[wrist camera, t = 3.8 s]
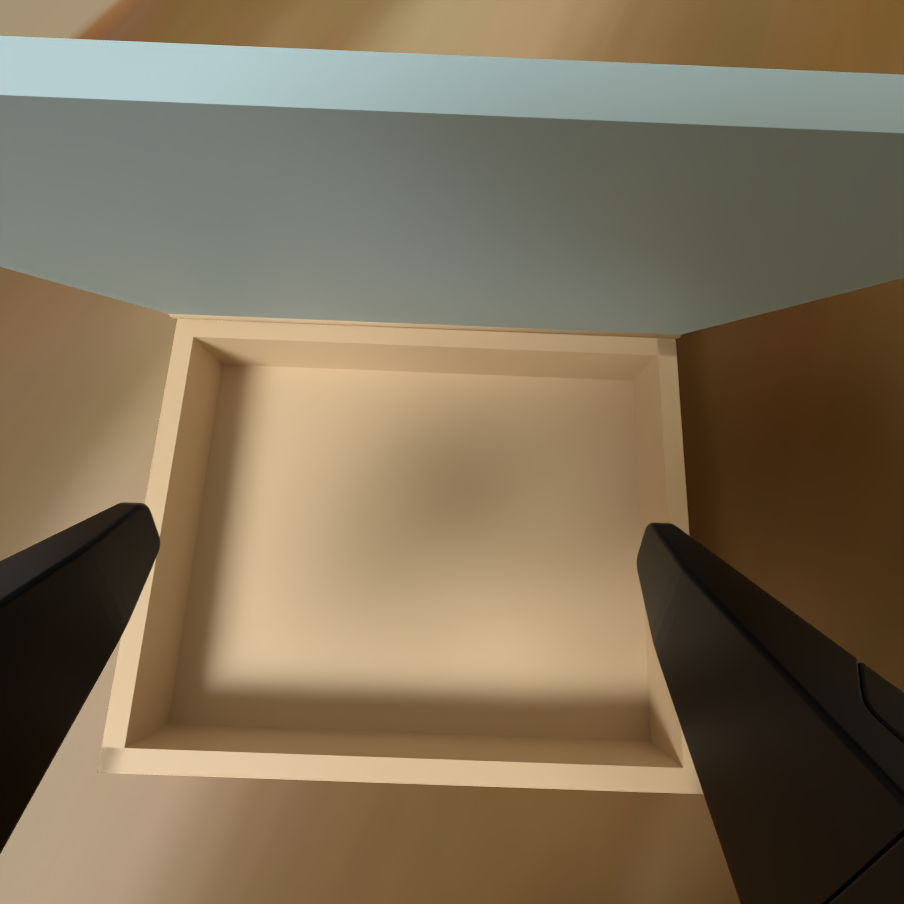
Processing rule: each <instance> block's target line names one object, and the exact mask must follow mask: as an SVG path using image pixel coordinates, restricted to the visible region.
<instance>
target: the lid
mask: <svg viewBox="0 0 904 904" xmlns="http://www.w3.org/2000/svg"><path fill="white" fill-rule="evenodd" d="M0 267H3V268H6V269H10V270H13V271H17V272H20V273H24V274H28V275H31V276H35V277H38V278H42V279H46V280H49V281H53V282H56V283H60V284H63V285H67V286H71V287H74V288H78V289H81V290H85V291H89V292H92V293H96V294H99V295H103V296H106V297H110V298H114V299H117V300H121V301H124V302H128V303H131V304H135V305H139V306H142V307H146V308H149V309H153V310H157V311H160V312H164V313H167V314H169V316H170V317H171V318H177V319H202V320H226V321H251V322H276V323H301V324H326V325H351V326H376V327H401V328H425V329H450V330H475V331H500V332H525V333H550V334H575V335H600V336H624V337H649V338H674V339H678V338H680V337H681V335H682V334H686V333H690V332H693V331H697V330H701V329H705V328H709V327H713V326H717V325H721V324H725V323H729V322H733V321H737V320H741V319H745V318H749V317H753V316H757V315H760V314H764V313H768V312H772V311H776V310H780V309H784V308H788V307H792V306H796V305H800V304H804V303H808V302H812V301H816V300H820V299H823V298H827V297H831V296H835V295H839V294H843V293H847V292H851V291H855V290H859V289H863V288H867V287H871V286H875V285H879V284H883V283H887V282H890V281H894V280H898V279H902V278H904V75H899V74H876V73H852V72H829V71H806V70H783V69H759V68H736V67H713V66H690V65H666V64H643V63H620V62H597V61H573V60H550V59H527V58H503V57H480V56H457V55H434V54H410V53H387V52H364V51H341V50H317V49H294V48H271V47H248V46H224V45H201V44H178V43H155V42H131V41H108V40H85V39H62V38H38V37H36V38H35V37H15V36H0Z"/></svg>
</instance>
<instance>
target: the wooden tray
mask: <svg viewBox="0 0 904 904" xmlns="http://www.w3.org/2000/svg"><path fill="white" fill-rule="evenodd" d="M145 504H146V505H147V506H148V507H149V509H150V511H151V514H152V516H153V519H154V522H155V525H156V528H157V531H158V534H159V536H160V549H159V552H158V555H157V557H156V560H155V562H154V564H153V567H152V569H151V571H150V574H149V576H148V578H147V581H146V583H145V585H144V588H143V590H142V593H141V595H140V597H139V600H138V602H137V604H136V607H135V609H134V611H133V614H132V616H131V618H130V620H129V622H128V624H127V627H126V628H125V630H124V632H123V634H122V636H121V640H120V646H119V652H118V657H117V663H116V669H115V674H114V680H113V686H112V691H111V697H110V703H109V708H108V714H107V719H106V725H105V731H104V736H103V742H102V748H101V753H100V759H99V765H98V770H97V773H121V774H150V775H178V776H206V777H234V778H262V779H290V780H318V781H347V782H375V783H403V784H431V785H459V786H487V787H515V788H544V789H572V790H600V791H628V792H656V793H684V794H703V791H702V788H701V785H700V782H699V779H698V776H697V773H696V770H695V767H694V764H693V761H692V758H691V755H690V752H689V749H688V746H687V743H686V740H685V738H684V735H683V732H682V729H681V726H680V723H679V720H678V717H677V714H676V711H675V708H674V705H673V702H672V699H671V696H670V693H669V690H668V687H667V684H666V681H665V678H664V675H663V673H662V670H661V667H660V664H659V661H658V658H657V654H656V651H655V648H654V644H653V640H652V636H651V632H650V627H649V623H648V618H647V613H646V609H645V604H644V599H643V595H642V590H641V585H640V581H639V576H638V571H637V555H638V552H639V548H640V545H641V542H642V538H643V535H644V532H645V529H646V527H647V525H648V524H650V523H652V522H656V523H672V524H674V525H675V526H677V527H678V528H680V529H681V530H682V531H684V532H685V533H686V534H688V535H689V522H688V508H687V493H686V479H685V465H684V451H683V437H682V423H681V409H680V394H679V380H678V366H677V352H676V339H668V338H643V337H618V336H593V335H568V334H544V333H519V332H494V331H469V330H444V329H419V328H394V327H369V326H345V325H320V324H295V323H270V322H245V321H220V320H195V319H177V324H176V330H175V336H174V341H173V347H172V353H171V358H170V364H169V370H168V375H167V381H166V387H165V392H164V398H163V403H162V409H161V415H160V420H159V426H158V432H157V437H156V443H155V449H154V454H153V460H152V466H151V471H150V477H149V482H148V488H147V494H146V499H145Z"/></svg>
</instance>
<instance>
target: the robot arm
mask: <svg viewBox="0 0 904 904" xmlns="http://www.w3.org/2000/svg"><path fill="white" fill-rule="evenodd" d="M159 549H160V536H159V534H158V531H157V528H156V525H155V522H154V519H153V516H152V514H151V511H150V509H149V507H148V506H147V505H146V504H143V503H119V504H117V505H115V506H113V507H111V508H109V509H107V510H105V511H102V512H100V513H98V514H96V515H94V516H92V517H90V518H88V519H86V520H84V521H82V522H80V523H78V524H76V525H74V526H72V527H70V528H68V529H66V530H64V531H61V532H59V533H57V534H55V535H53V536H51V537H49V538H47V539H45V540H43V541H41V542H39V543H37V544H35V545H33V546H31V547H29V548H27V549H25V550H23V551H20V552H18V553H16V554H14V555H12V556H10V557H8V558H6V559H4V560H2V561H0V854H1V852H2V850H3V848H4V846H5V845H6V843H7V841H8V839H9V837H10V836H11V834H12V832H13V830H14V828H15V827H16V825H17V823H18V821H19V819H20V818H21V816H22V814H23V812H24V810H25V809H26V807H27V805H28V803H29V801H30V800H31V798H32V796H33V794H34V793H35V791H36V789H37V787H38V785H39V784H40V782H41V780H42V778H43V776H44V775H45V773H46V771H47V769H48V767H49V766H50V764H51V762H52V760H53V758H54V757H55V755H56V753H57V751H58V749H59V748H60V746H61V744H62V742H63V740H64V739H65V737H66V735H67V733H68V731H69V730H70V728H71V726H72V724H73V722H74V721H75V719H76V717H77V715H78V714H79V712H80V710H81V708H82V706H83V705H84V703H85V701H86V699H87V697H88V696H89V694H90V692H91V690H92V688H93V687H94V685H95V683H96V681H97V679H98V678H99V676H100V674H101V672H102V670H103V669H104V667H105V665H106V663H107V661H108V660H109V658H110V656H111V654H112V652H113V651H114V649H115V647H116V645H117V643H118V642H119V640H120V638H121V636H122V634H123V632H124V630H125V628H126V627H127V624H128V622H129V620H130V618H131V616H132V614H133V611H134V609H135V607H136V604H137V602H138V600H139V597H140V595H141V593H142V590H143V588H144V585H145V583H146V581H147V578H148V576H149V574H150V571H151V569H152V567H153V564H154V562H155V560H156V557H157V555H158V552H159ZM637 571H638V576H639V581H640V585H641V590H642V595H643V599H644V604H645V609H646V613H647V618H648V623H649V627H650V632H651V636H652V640H653V644H654V648H655V651H656V654H657V658H658V661H659V664H660V667H661V670H662V673H663V675H664V678H665V681H666V684H667V687H668V690H669V693H670V696H671V699H672V702H673V705H674V708H675V711H676V714H677V717H678V720H679V723H680V726H681V729H682V732H683V735H684V738H685V740H686V743H687V746H688V749H689V752H690V755H691V758H692V761H693V764H694V767H695V770H696V773H697V776H698V779H699V782H700V785H701V788H702V791H703V794H704V797H705V800H706V803H707V805H708V808H709V811H710V814H711V817H712V820H713V823H714V826H715V829H716V832H717V835H718V838H719V841H720V844H721V847H722V850H723V853H724V856H725V859H726V862H727V865H728V868H729V870H730V873H731V876H732V879H733V882H734V885H735V888H736V891H737V894H738V897H739V900H740V903H741V904H904V693H903V692H902V691H901V690H899V689H898V688H896V687H895V686H894V685H892V684H891V683H889V682H888V681H887V680H885V679H884V678H883V677H881V676H880V675H878V674H877V673H876V672H874V671H873V670H872V669H870V668H869V667H868V666H866V665H865V664H863V663H858V660H857V659H856V658H855V657H854V656H852V655H851V654H850V653H848V652H847V651H846V650H844V649H843V648H842V647H840V646H839V645H837V644H836V643H835V642H833V641H832V640H831V639H829V638H828V637H827V636H825V635H824V634H823V633H821V632H820V631H818V630H817V629H816V628H814V627H813V626H812V625H810V624H809V623H808V622H806V621H805V620H803V619H802V618H801V617H799V616H798V615H797V614H795V613H794V612H793V611H791V610H790V609H788V608H787V607H786V606H784V605H783V604H782V603H780V602H779V601H778V600H776V599H775V598H774V597H772V596H771V595H769V594H768V593H767V592H765V591H764V590H763V589H761V588H760V587H759V586H757V585H756V584H754V583H753V582H752V581H750V580H749V579H748V578H746V577H745V576H744V575H742V574H741V573H739V572H738V571H737V570H735V569H734V568H733V567H731V566H730V565H729V564H727V563H726V562H725V561H723V560H722V559H720V558H719V557H718V556H716V555H715V554H714V553H712V552H711V551H710V550H708V549H707V548H705V547H704V546H703V545H701V544H700V543H699V542H697V541H696V540H695V539H693V538H692V537H691V536H689V535H688V534H686V533H685V532H684V531H682V530H681V529H680V528H678V527H677V526H675V525H674V524H672V523H656V522H652V523H650V524H648V525H647V527H646V529H645V532H644V535H643V538H642V542H641V545H640V548H639V552H638V555H637Z"/></svg>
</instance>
